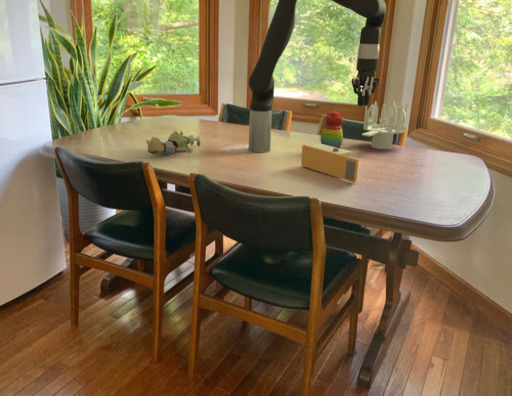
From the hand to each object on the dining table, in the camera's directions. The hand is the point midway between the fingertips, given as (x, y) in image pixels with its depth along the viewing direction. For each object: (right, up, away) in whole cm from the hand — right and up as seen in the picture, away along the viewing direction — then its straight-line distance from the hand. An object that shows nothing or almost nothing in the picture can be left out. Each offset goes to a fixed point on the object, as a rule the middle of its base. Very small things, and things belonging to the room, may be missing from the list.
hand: (362, 105), depth 173 cm
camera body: (-14, -24, 0) cm, 28 cm away
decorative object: (+15, -13, +36) cm, 41 cm away
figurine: (-74, -16, +19) cm, 78 cm away
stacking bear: (-8, -15, +27) cm, 31 cm away
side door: (-15, -26, -7) cm, 31 cm away
